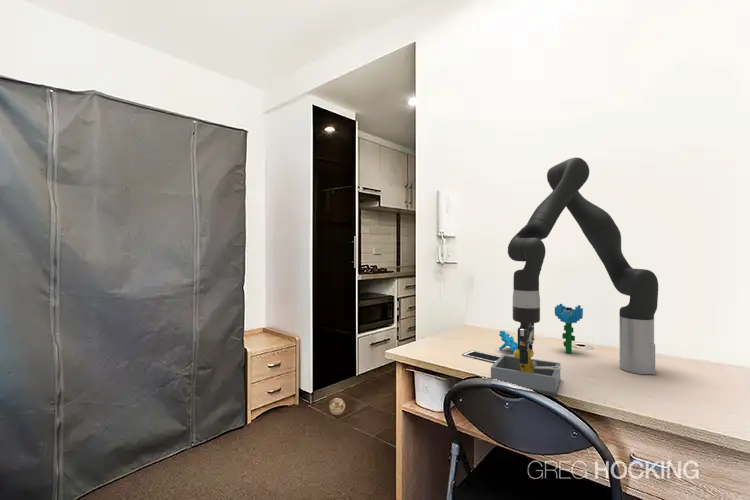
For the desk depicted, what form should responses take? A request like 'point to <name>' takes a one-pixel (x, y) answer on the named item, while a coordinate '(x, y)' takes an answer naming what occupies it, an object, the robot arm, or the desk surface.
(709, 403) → the desk surface
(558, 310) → the toy flower
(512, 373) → the bin
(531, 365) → the pressure relief valve
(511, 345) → the blue blocky piece
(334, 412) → the trinket box
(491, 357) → the cell phone
